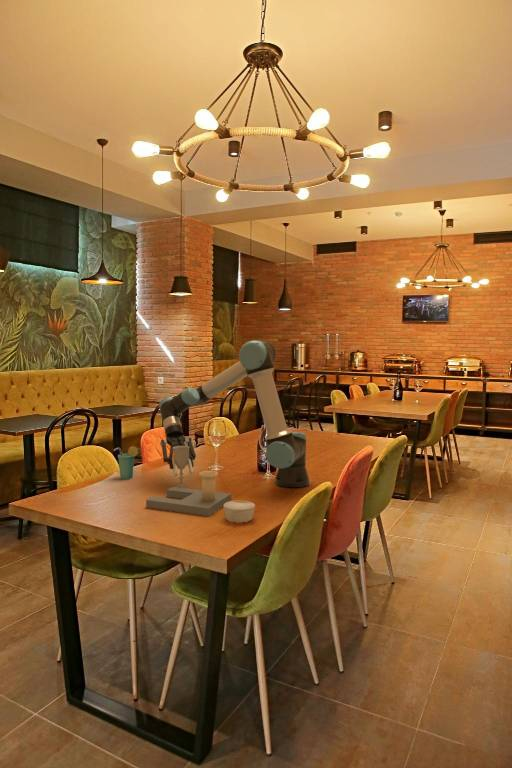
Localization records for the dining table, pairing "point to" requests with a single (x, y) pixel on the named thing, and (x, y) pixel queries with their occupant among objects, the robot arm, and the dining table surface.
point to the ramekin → (239, 511)
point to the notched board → (192, 498)
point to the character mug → (191, 442)
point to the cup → (127, 462)
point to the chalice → (181, 460)
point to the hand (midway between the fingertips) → (183, 474)
